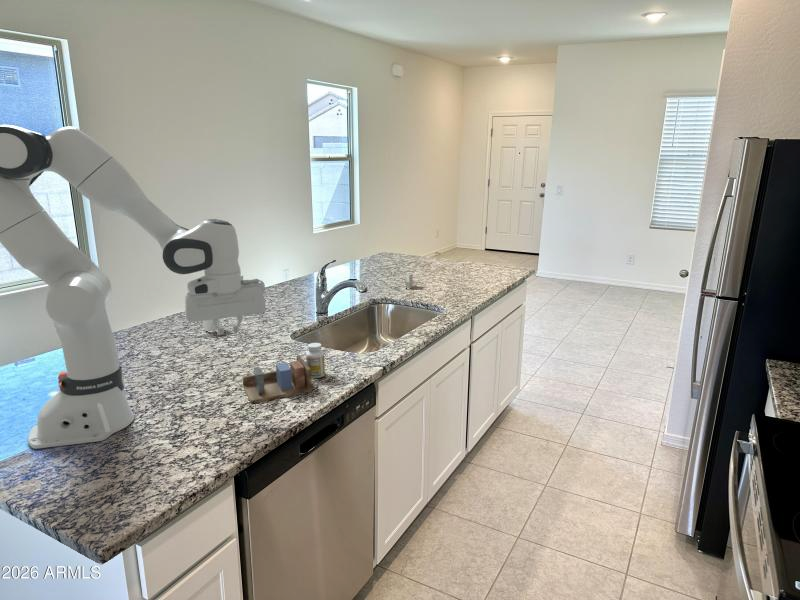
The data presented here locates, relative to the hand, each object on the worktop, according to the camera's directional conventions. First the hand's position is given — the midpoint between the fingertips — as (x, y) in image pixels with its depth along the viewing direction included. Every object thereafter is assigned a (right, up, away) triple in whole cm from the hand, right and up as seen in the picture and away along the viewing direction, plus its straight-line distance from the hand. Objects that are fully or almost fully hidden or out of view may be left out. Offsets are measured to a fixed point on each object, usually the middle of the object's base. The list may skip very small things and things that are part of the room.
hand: (228, 332), depth 142 cm
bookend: (+6, -17, +8) cm, 19 cm away
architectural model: (+50, +14, +123) cm, 134 cm away
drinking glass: (-26, -3, +61) cm, 67 cm away
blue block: (+13, -16, +11) cm, 23 cm away
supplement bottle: (+20, -14, +21) cm, 32 cm away
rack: (+10, -17, +11) cm, 23 cm away
